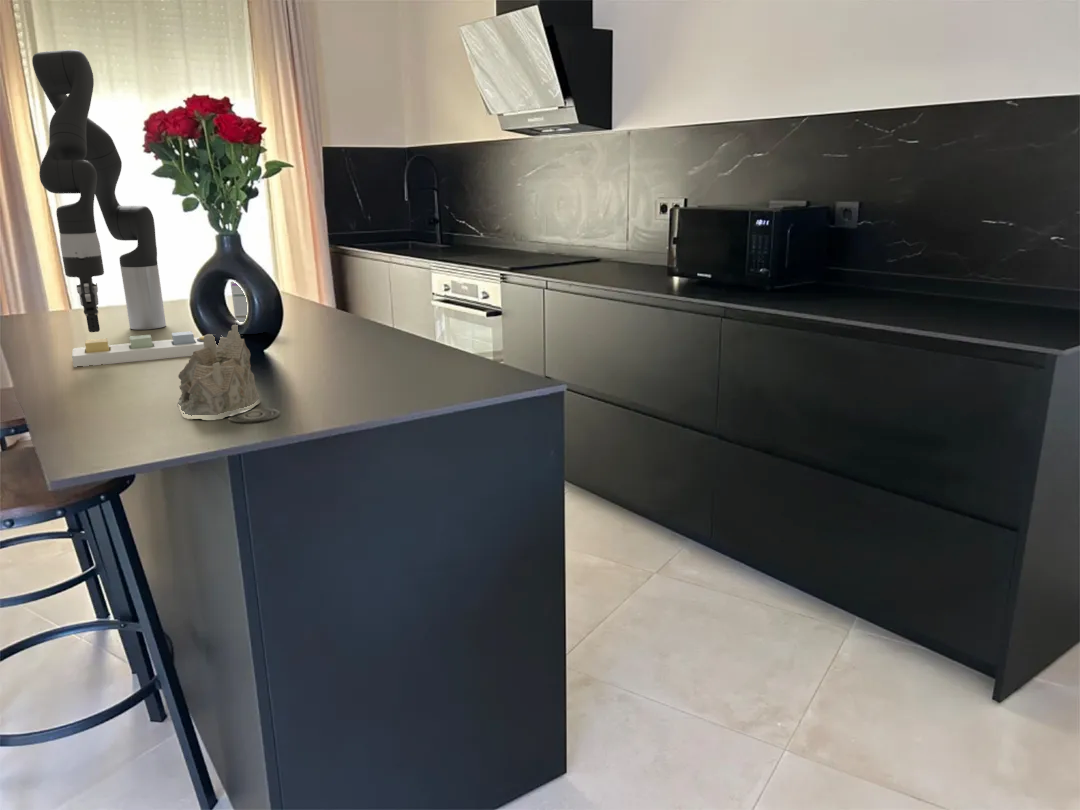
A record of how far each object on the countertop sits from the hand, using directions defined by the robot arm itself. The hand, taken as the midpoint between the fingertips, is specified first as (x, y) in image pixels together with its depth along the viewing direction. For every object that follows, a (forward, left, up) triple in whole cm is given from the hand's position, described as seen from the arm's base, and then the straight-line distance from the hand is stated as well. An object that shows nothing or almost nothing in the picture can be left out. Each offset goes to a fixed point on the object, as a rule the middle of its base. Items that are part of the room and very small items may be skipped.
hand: (94, 331), depth 175 cm
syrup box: (-18, +36, -7) cm, 41 cm away
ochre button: (0, 0, -5) cm, 5 cm away
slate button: (0, +18, -5) cm, 19 cm away
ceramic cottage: (+54, +18, -7) cm, 57 cm away
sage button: (0, +9, -5) cm, 10 cm away
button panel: (0, +11, -7) cm, 13 cm away
